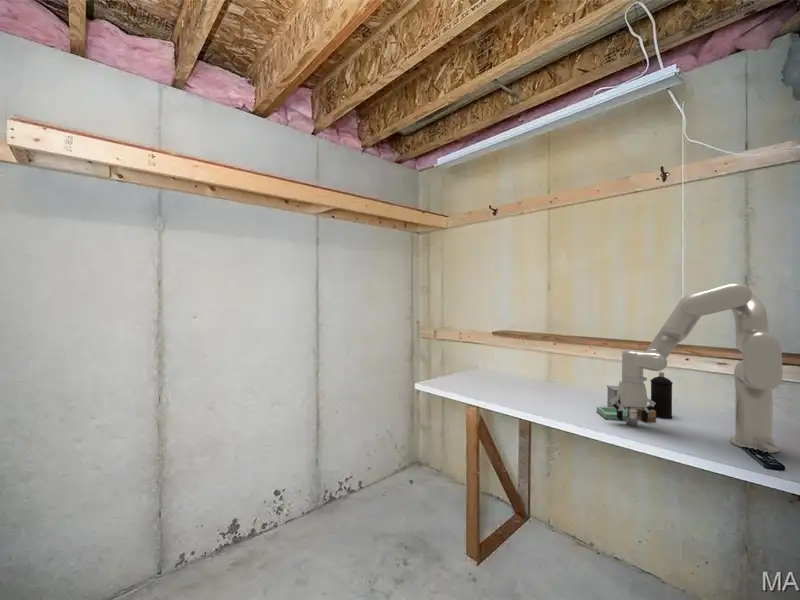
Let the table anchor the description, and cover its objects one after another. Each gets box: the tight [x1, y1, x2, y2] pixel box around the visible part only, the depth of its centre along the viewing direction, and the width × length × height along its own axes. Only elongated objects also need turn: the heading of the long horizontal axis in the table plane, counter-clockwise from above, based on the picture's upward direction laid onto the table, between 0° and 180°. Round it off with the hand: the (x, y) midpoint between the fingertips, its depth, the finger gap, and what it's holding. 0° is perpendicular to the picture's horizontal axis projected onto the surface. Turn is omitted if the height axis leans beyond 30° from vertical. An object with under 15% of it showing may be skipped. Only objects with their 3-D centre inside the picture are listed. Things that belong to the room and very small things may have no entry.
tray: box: [596, 406, 626, 422], centre depth 158 cm, size 11×11×2 cm
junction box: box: [606, 385, 626, 410], centre depth 167 cm, size 9×14×11 cm, turn 80°
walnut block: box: [638, 408, 657, 424], centre depth 153 cm, size 5×5×5 cm
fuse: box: [625, 407, 639, 428], centre depth 147 cm, size 4×4×9 cm
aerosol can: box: [650, 371, 674, 420], centre depth 159 cm, size 8×8×20 cm
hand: (632, 420), depth 147 cm, fingers open, 8 cm apart
